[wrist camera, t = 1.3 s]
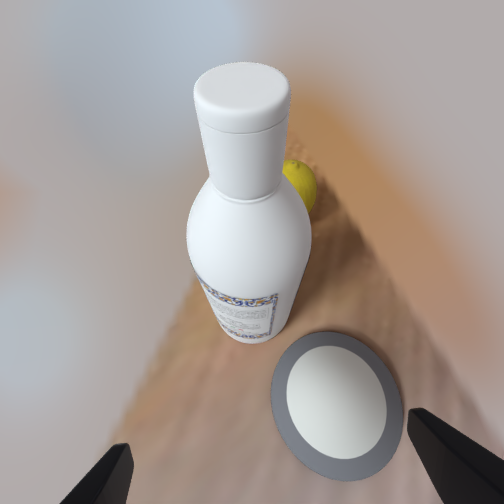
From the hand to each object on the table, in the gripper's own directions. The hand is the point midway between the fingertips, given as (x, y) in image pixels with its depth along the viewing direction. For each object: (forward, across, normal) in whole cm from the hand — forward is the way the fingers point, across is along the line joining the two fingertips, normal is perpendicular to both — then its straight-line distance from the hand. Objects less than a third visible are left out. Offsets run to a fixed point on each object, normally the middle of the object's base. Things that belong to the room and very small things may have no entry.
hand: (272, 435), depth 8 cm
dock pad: (+10, -6, +9) cm, 15 cm away
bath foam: (+16, 0, +4) cm, 17 cm away
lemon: (+24, -5, -3) cm, 24 cm away
